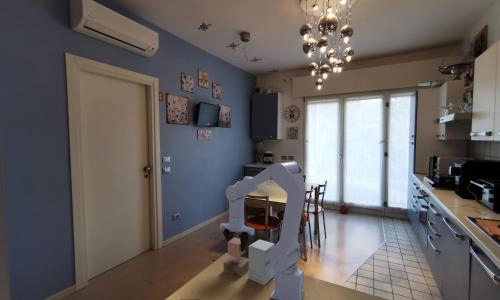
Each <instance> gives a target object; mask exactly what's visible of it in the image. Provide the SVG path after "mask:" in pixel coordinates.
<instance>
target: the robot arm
mask: <svg viewBox="0 0 500 300" xmlns="http://www.w3.org/2000/svg"><path fill="white" fill-rule="evenodd" d="M268 181H273V182H274V183H275V184H276V185H278V187H280V188H281V190H283V191H284V192H285V193H286V201H285V202H286V203H285V206H284V207H285V209H284V213H283V218H282V224H281V230H280V235H279V240H278V242H277V243H276V244H275V247H274V251H273V253H272V254H271V256H270V263H271V266H272V268H273V269H274V271H275V276H274V289H273V290H272V293H271V294H270V298H271V299H273V300H302V299H303V297H304V296H305V295H304V294H305V272H304V271H302V270H300V269H298V268H297V266H298V262H299V261H300V260H301V251H300V246H301V244H300V243H299V242H298V235H299V231H300V227H301V226H300V225H301V222H302V221H301V219H302V214H303V210H304V205H305V200H306V199H305V198H306V193H307V190H306V185H305V180H304V170H303V168H302V166H301V165H300V164H299V163H298V162H297V161H294V160H292V161H287V162H286V161H285V162H276V163H274V164H272V165H269V166H268V167H267V168H265V169H263V170H262V171H261V172H259V173H258V174H256V175H254V176H248V175H247V176H246V175H245V176H243V179H242V180H239V181H236V182H235V184H234V185H228V187H226V189H225V196H226V198H227V200H228V211H229V213H228V217H229V218H228V219H229V220H228V223H226V222H222V223H220V224H219V229H220V230H223V232H222V235H223V236H224V237H225V241H226V243H227V244H228V242H229V241H230V240H231V239H233V238H234V232H237V233H238V232H239V233H240V234H239V235H238V238H239V239H240V242H241V252H243V251H244V250H245V251H246V246H247V243H248V240H249V237H250V236H253V235H254V234H255V228H254V227H250V226H248V225H245V219H244V218H245V217H244V216H245V214H244V213H245V210H244V207H245V205H244V204H245V202H246V201H245V199H246V197H247V196H248V195H250V194H252V193H253V192H255V191H257V189H258V186H260V185H262V184H264V183H265V182H268Z"/></svg>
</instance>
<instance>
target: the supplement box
mask: <svg viewBox="0 0 500 300" xmlns="http://www.w3.org/2000/svg"><path fill="white" fill-rule="evenodd" d="M275 246H276V244H275V243H273V242H270V241H266V240H263V239H258V240H256V241H254V242H253V243H251V244H249V245H248V259H249V270H248V279H249V280H252V281H254V282H256V283H258V284H260V285H262V286H266V284H267V283H268V282H269V281H271V280H272V279H273V278H275V271H274V269H273V268H272V266H271V263H270V256H271V254H272V253H273V251H274V247H275Z"/></svg>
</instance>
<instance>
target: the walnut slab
mask: <svg viewBox="0 0 500 300" xmlns="http://www.w3.org/2000/svg"><path fill="white" fill-rule="evenodd" d="M223 272H224V273H227V274H230V275H233V276H237V277H239V278H242V277H243V276H244V275H245V274H246V273H248V272H249V257H248V258H247V257H244V256H240V257H239V258H238V257H234V256H230V257H229V258H227V259H226V260H224V261H223Z"/></svg>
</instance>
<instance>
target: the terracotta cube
mask: <svg viewBox="0 0 500 300" xmlns="http://www.w3.org/2000/svg"><path fill="white" fill-rule="evenodd" d="M245 252H246V249H245V250H244V251H243V252H241V242H240V237H233V239H231V240H230V241H229V242H228V243H227V255H228V256H230V257H231V256H234V257H238V258H239V257H242V255H243V254H245Z"/></svg>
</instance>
